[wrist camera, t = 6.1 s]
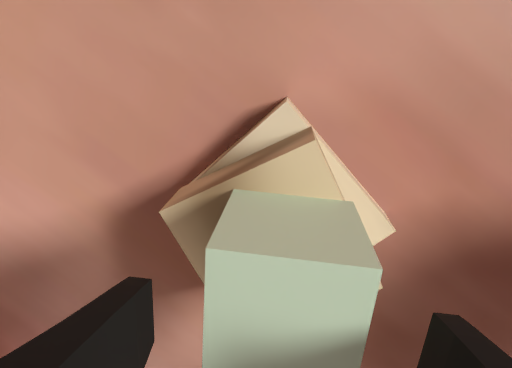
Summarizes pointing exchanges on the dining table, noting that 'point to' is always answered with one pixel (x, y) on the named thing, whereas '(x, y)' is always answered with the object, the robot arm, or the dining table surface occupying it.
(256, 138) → the beech slab bottom
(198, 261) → the beech slab top
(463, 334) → the robot arm
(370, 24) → the dining table surface
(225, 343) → the sage cube
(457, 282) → the dining table surface
